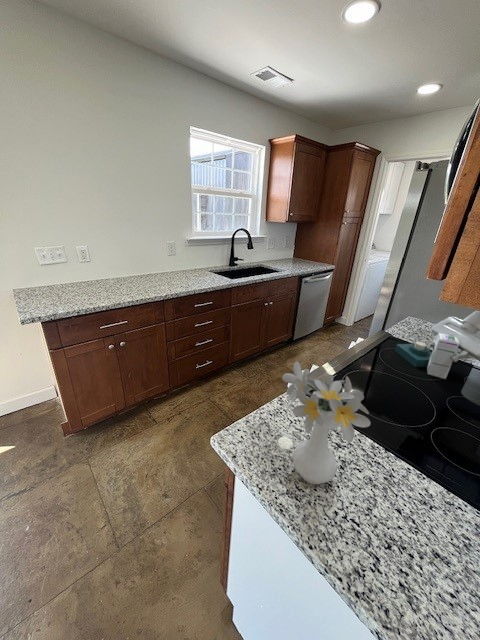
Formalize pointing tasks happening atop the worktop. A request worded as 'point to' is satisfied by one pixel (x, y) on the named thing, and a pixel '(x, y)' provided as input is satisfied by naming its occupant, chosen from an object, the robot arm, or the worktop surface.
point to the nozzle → (420, 345)
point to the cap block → (414, 354)
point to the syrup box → (442, 355)
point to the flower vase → (322, 421)
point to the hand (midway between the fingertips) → (441, 352)
